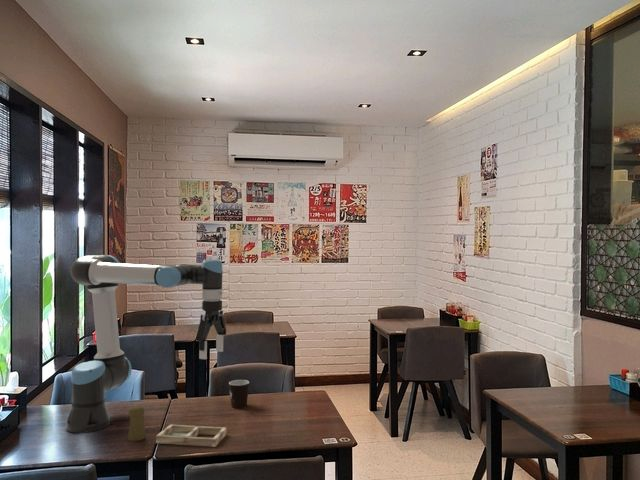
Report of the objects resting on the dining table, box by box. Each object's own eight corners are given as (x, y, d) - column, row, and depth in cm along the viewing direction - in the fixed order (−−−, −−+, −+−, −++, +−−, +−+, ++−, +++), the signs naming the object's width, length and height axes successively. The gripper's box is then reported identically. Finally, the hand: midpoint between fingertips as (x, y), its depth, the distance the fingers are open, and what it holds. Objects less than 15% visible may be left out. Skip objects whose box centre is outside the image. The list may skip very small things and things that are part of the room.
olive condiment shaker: (135, 442, 180) (135, 410, 181) (123, 438, 184) (123, 407, 184) (149, 436, 186) (149, 405, 186) (138, 433, 189) (138, 403, 189)
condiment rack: (215, 446, 176) (215, 439, 176) (155, 443, 180) (155, 435, 180) (226, 434, 187) (226, 427, 187) (170, 431, 191) (170, 424, 191)
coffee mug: (247, 409, 215) (247, 385, 215) (227, 409, 215) (226, 385, 215) (251, 400, 227) (251, 378, 227) (232, 400, 227) (232, 377, 227)
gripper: (205, 304, 186) (204, 363, 186) (235, 297, 210) (234, 349, 210) (186, 303, 188) (186, 361, 188) (218, 296, 212) (217, 347, 212)
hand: (211, 355), depth 199 cm, fingers open, 13 cm apart
